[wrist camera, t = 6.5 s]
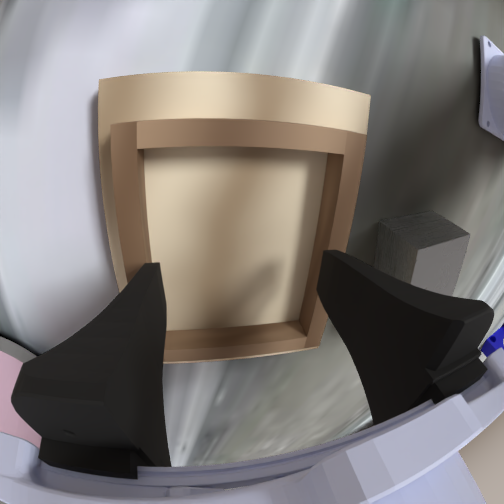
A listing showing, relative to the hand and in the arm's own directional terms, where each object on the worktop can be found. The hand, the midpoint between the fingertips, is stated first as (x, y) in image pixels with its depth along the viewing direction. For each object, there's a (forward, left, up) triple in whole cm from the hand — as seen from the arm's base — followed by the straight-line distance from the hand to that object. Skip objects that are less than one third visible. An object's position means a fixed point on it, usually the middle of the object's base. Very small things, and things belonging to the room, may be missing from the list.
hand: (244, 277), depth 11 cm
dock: (0, 0, -4) cm, 4 cm away
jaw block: (-12, +2, -4) cm, 13 cm away
